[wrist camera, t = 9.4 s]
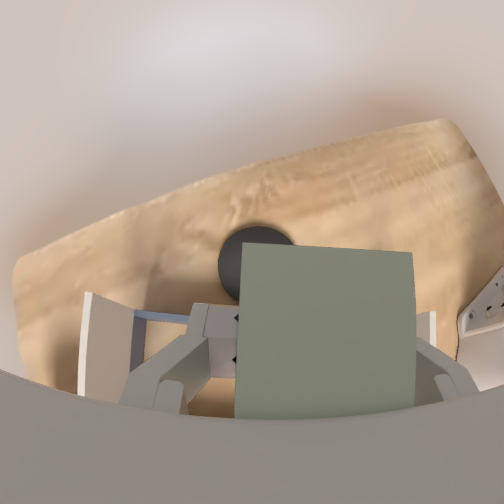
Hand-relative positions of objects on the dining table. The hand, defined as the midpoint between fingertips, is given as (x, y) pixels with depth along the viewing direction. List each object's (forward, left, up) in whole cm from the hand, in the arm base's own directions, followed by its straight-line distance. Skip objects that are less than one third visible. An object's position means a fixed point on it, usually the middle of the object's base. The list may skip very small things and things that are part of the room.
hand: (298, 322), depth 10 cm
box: (0, 0, -5) cm, 5 cm away
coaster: (-5, -6, -23) cm, 24 cm away
